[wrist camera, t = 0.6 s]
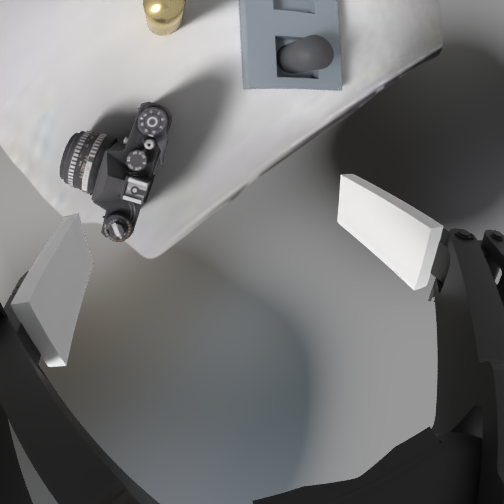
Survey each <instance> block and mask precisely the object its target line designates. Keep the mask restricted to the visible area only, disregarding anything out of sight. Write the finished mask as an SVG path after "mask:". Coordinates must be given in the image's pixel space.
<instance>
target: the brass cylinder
mask: <svg viewBox="0 0 504 504" xmlns="http://www.w3.org/2000/svg"><path fill="white" fill-rule="evenodd" d="M184 5H185V0H143V6H144V10H145V14H146V18H147V23H148V27H149V29H150V30H151V31H152V32H153V33H155V34H157V35H168V34H171V33H173V32H175V31H176V30H177V29H178V28H179V26H180V25H181V21H182V16H183V10H184Z"/></svg>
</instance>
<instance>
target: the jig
mask: <svg viewBox="0 0 504 504" xmlns="http://www.w3.org/2000/svg"><path fill="white" fill-rule="evenodd" d="M239 14H240V34H241V53H242V73H243V89H316V90H342V71H341V46H340V29H339V16H338V4H337V0H239Z"/></svg>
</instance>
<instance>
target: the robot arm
mask: <svg viewBox="0 0 504 504" xmlns="http://www.w3.org/2000/svg"><path fill="white" fill-rule="evenodd" d="M337 222H338V223H339V224H340V225H341V226H342V227H344V228H345V229H346V230H347V231H348V232H350V233H351V234H352V235H353V236H354V237H355V238H357V239H358V240H359V241H360V242H361V243H362V244H364V245H365V246H366V247H367V248H368V249H369V250H370V251H372V252H373V253H374V254H375V255H376V256H377V257H378V258H379V259H381V260H382V261H383V262H384V263H385V264H386V265H387V266H389V268H391V269H392V270H393V271H394V272H395V273H396V274H397V275H398V276H399V277H400V278H401V279H403V280H404V281H405V282H406V283H407V284H408V285H409V286H410V287H411V288H412V289H413V290H417V289H420V288H423V287H425V286H427V283H428V280H429V277H430V274H432V275H434V276H435V277H436V279H435V282H434V285H433V288H432V291H431V294H430V297H429V301H431V299H432V297H434V296H435V300H434V302H435V307H436V321H437V344H438V345H437V346H438V380H437V381H438V382H437V403H436V416H435V422H434V425H433V427H432V429H431V428H430V427H428V428H427V429H425V430H423V431H422V432H420V433H418V434H417V435H415V436H413V437H412V438H410V439H408V440H407V441H405V442H403V443H401V444H400V445H398V446H396V447H395V448H393V449H392V450H391V451H390V452H389V453H388V454H387V455H386V456H385V457H383V458H382V459H381V460H380V461H379V462H378V463H377V464H375V465H374V466H373V467H372V468H370V469H369V470H368V471H367V472H365V473H364V474H363V475H361V476H360V477H358V478H355V479H351V480H346V481H340V482H335V483H328V484H320V485H312V486H304V487H301V488H298V489H294V490H291V491H288V492H285V493H281V494H278V495H274V496H270V497H266V498H263V499H259V500H255V501H253V504H504V235H503V234H501V233H500V232H498V231H496V230H494V231H493V230H486V231H485V233H484V237H483V240H482V241H481V240H477V239H476V238H475V236H474V235H473V234H471V233H469V232H468V231H466V230H464V229H456V228H455V229H451V230H450V231H447V230H446V229H444V228H443V225H441V224H439V223H438V222H436V221H435V220H433V219H432V218H430V217H428V216H427V215H425V214H423V213H422V212H420V211H418V210H417V209H415V208H414V207H412V206H410V205H408V204H407V203H405V202H403V201H402V200H400V199H398V198H396V197H395V196H393V195H391V194H389V193H388V192H386V191H384V190H382V189H380V188H378V187H377V186H375V185H373V184H371V183H369V182H367V181H365V180H364V179H362V178H360V177H358V176H356V175H354V174H344V175H341V180H340V195H339V208H338V220H337ZM93 264H94V263H93V260H92V257H91V253H90V251H89V247H88V244H87V241H86V238H85V234H84V231H83V227H82V224H81V220H80V217H79V213H78V214H73V215H69V216H65V217H64V218H63V220H62V221H61V223H60V224H59V225H58V227H57V228H56V230H55V231H54V233H53V234H52V236H51V237H50V238H49V240H48V242H47V243H46V245H45V246H44V248H43V249H42V251H41V253H40V254H39V256H38V257H37V259H36V260H35V262H34V264H33V265H32V267H31V268H30V270H29V271H28V272H26V273H25V274H24V275H23V277H21V278H20V280H19V281H18V283H17V285H16V287H15V289H14V290H13V292H12V295H11V296H10V298H9V299H8V301H7V303H6V305H5V307H4V309H3V307H2V305H1V303H0V504H33V503H32V500H31V498H30V495H29V492H28V489H27V487H26V484H25V481H24V478H23V475H22V472H21V469H20V465H19V462H18V459H17V455H16V451H15V448H14V444H13V440H12V436H11V431H10V427H9V422H8V419H9V421H10V423H11V426H12V427H13V430H14V432H15V433H16V436H17V438H18V439H19V441H20V443H21V445H22V447H23V449H24V451H25V453H26V454H27V456H28V458H29V460H30V461H31V463H32V464H33V466H34V468H35V469H36V471H37V473H38V474H39V476H40V477H41V479H42V481H43V482H44V484H45V485H46V486H47V488H48V489H49V491H50V492H51V494H52V495H53V496H54V498H55V500H56V501H57V502H58V504H159V503H158V502H157V501H156V500H155V499H153V498H152V497H151V496H150V495H149V494H148V493H146V492H145V491H144V490H143V489H142V488H141V487H140V486H138V484H136V483H135V482H134V481H133V480H132V479H131V478H130V477H129V476H128V475H127V474H126V473H125V472H124V471H123V470H122V469H121V468H120V467H119V466H118V465H117V464H116V463H115V462H114V461H113V460H112V459H111V458H110V457H109V456H108V455H107V454H106V452H105V451H104V450H103V449H102V448H101V447H100V446H99V445H98V444H97V443H96V441H95V440H94V439H93V438H92V437H91V436H90V434H89V433H88V432H87V431H86V430H85V428H84V427H83V426H82V425H81V424H80V422H79V421H78V420H77V418H76V417H75V416H74V415H73V413H72V412H71V411H70V409H69V408H68V407H67V405H66V404H65V402H64V401H63V400H62V398H61V397H60V396H59V394H58V393H57V391H56V390H55V388H54V387H53V385H52V384H51V382H50V381H49V379H48V378H47V376H46V375H45V373H44V372H43V370H42V369H41V367H40V366H39V365H38V363H39V360H40V356H41V357H42V358H43V359H44V361H45V362H46V364H47V365H48V367H55V366H66V364H67V359H68V355H69V350H70V346H71V341H72V337H73V333H74V329H75V325H76V321H77V317H78V314H79V310H80V307H81V303H82V299H83V296H84V293H85V289H86V286H87V283H88V280H89V277H90V274H91V271H92V268H93ZM500 268H501V270H502V276H501V278H500V281H499V283H498V285H497V284H496V283H495V279H496V276H497V274H498V271H499V269H500Z"/></svg>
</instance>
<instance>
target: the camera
mask: <svg viewBox="0 0 504 504" xmlns="http://www.w3.org/2000/svg"><path fill="white" fill-rule="evenodd" d="M139 108H140V109H139ZM137 110H138V114H137V116H136V119H135V121H134V124H133V127H132V129H131V132H130V135H129V138H127V137H125V139H124V142H117V138H113V137H110V136H108V135H107V134H104V133H102V134H99V133H98V134H97V133H94V132H91V131H87V132H84V131H81V132H80V133H75V134H74V135H73V136H72V137H71V138H70V140H69V142H68V144H67V146H66V148H65V150H64V153H63V157H62V160H61V165H60V177H61V179H64V182H65V183H67V184H69V186H70V187H74V188H79V189H80V190H82V191H83V192H84V193H88V194H89V193H90V195H92V194H93V195H92V200H93V202H94V203H95V204H97V205H98V206H100V207H101V208H103V209H105V210H106V214H105V216H103V218H104V222H103V227H102V231H101V233H102V234H103V235H104V236H105V237H108V238H109V239H110V240H112V241H115V242H122V241H125V240H126V239H128V238H129V237H130V236H131V234H132V233H133V231H134V228H135V224H136V221H137V218H138V215H139V211H140V208H141V205H143V203H146V200H147V198H148V195H149V192H150V189H151V186H152V183H153V180H154V176H155V175H153V174H152V173H153V170H154V167H155V165H156V162H157V159H158V156H159V162H160V165H163V155H164V152H165V149H166V146H167V143H168V140H167V133H168V130H169V128H170V125H171V114H170V112H169V111H168V109H166V108H165V107H162V106H160V105H157V104H154V103H151V102H146V103H142V104H141V106H138V108H137Z"/></svg>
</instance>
